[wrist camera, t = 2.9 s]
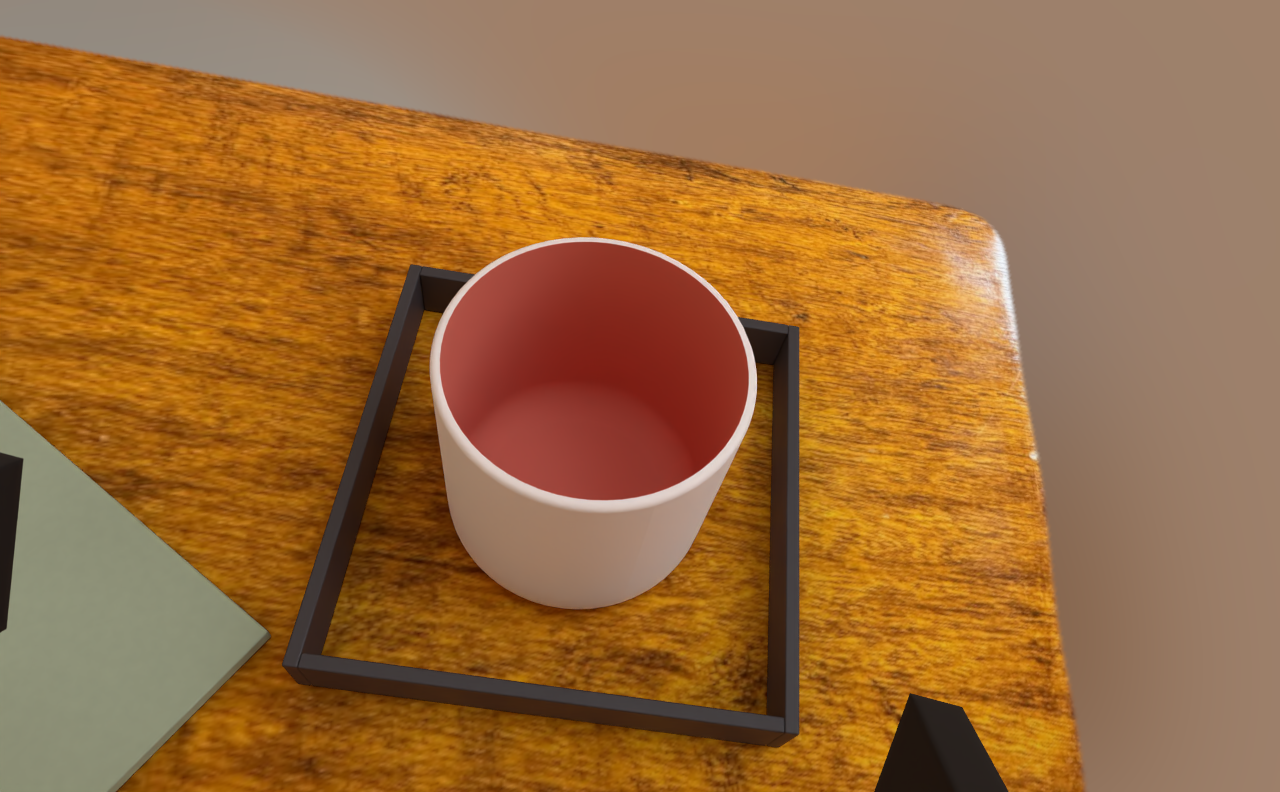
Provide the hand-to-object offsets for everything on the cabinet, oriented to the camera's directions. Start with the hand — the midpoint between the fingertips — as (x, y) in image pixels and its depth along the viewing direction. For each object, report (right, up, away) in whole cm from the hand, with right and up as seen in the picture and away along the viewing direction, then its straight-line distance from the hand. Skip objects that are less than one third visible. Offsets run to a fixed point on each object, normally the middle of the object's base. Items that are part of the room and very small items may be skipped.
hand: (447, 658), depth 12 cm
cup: (0, 0, +22) cm, 22 cm away
